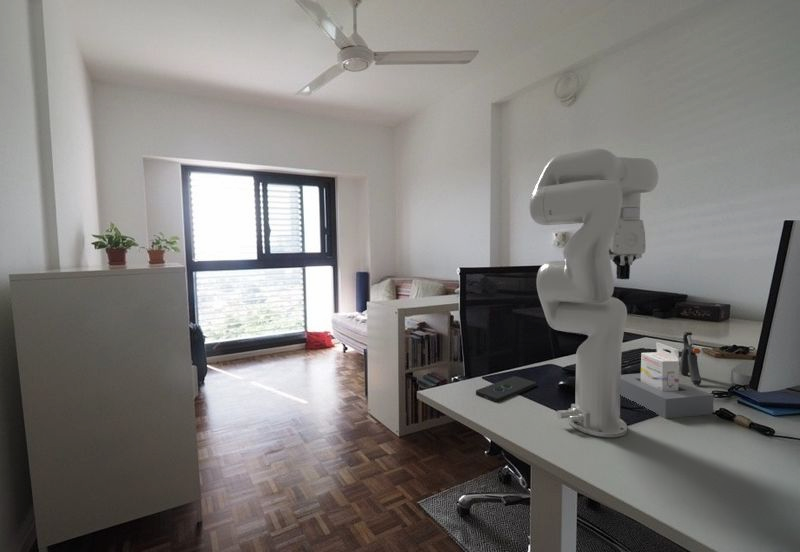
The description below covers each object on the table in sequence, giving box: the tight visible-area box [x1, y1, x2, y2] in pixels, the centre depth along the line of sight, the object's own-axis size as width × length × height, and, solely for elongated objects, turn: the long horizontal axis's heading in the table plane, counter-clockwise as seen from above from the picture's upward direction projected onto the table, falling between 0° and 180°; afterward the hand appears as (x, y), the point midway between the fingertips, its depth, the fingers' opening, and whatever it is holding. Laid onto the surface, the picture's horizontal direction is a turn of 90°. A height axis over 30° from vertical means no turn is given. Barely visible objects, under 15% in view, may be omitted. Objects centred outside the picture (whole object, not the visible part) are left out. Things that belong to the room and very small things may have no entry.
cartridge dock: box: [620, 372, 715, 419], centre depth 103 cm, size 14×18×5 cm
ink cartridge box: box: [640, 342, 680, 392], centre depth 103 cm, size 9×5×15 cm, turn 3°
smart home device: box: [475, 375, 537, 403], centre depth 113 cm, size 8×2×20 cm
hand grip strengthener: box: [679, 331, 702, 386], centre depth 119 cm, size 2×12×15 cm, turn 159°
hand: (622, 278), depth 108 cm, fingers closed
